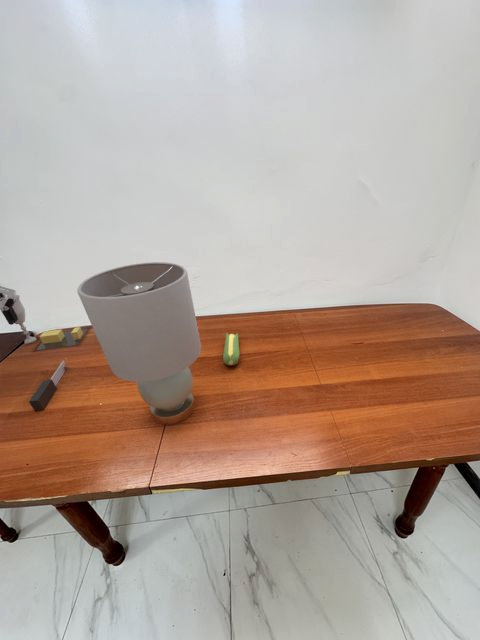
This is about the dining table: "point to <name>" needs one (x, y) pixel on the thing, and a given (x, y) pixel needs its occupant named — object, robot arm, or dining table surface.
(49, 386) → the knife
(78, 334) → the butter slice
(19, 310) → the chalice
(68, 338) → the slate board
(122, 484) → the dining table surface
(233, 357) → the edible corn
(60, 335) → the butter block
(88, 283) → the lamp
